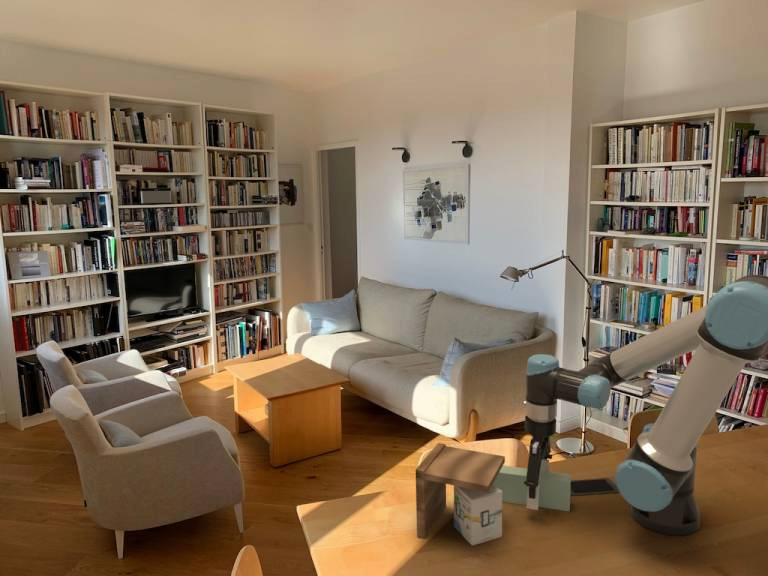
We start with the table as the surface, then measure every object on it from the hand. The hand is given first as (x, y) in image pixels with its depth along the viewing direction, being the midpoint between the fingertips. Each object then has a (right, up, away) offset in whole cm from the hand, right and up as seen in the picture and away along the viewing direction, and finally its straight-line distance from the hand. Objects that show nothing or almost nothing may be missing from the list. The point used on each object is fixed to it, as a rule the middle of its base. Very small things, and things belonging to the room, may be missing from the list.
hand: (537, 494), depth 149 cm
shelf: (-21, -5, -9) cm, 23 cm away
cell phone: (+16, -1, +8) cm, 18 cm away
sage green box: (-7, -3, -2) cm, 7 cm away
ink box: (-17, -5, -11) cm, 21 cm away
